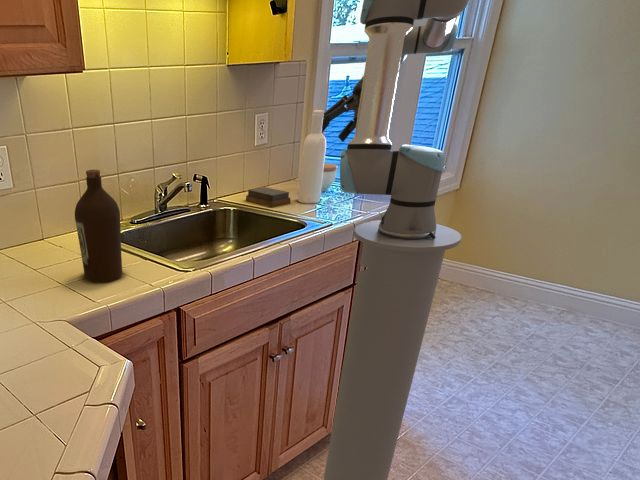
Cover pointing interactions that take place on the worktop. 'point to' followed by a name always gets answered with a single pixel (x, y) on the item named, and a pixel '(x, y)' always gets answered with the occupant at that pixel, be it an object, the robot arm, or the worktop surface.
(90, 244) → the olive oil
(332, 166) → the lidded bowl
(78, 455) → the worktop surface
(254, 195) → the sharpening stone
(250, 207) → the worktop surface
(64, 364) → the worktop surface
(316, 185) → the bottle
